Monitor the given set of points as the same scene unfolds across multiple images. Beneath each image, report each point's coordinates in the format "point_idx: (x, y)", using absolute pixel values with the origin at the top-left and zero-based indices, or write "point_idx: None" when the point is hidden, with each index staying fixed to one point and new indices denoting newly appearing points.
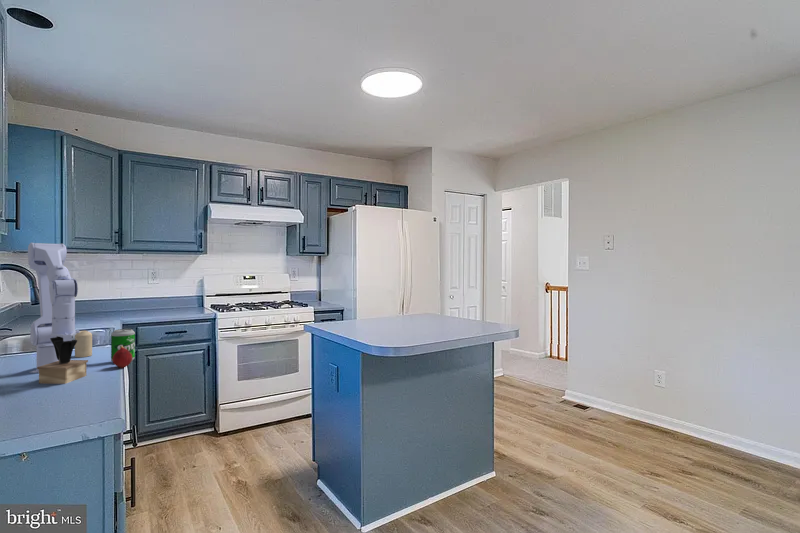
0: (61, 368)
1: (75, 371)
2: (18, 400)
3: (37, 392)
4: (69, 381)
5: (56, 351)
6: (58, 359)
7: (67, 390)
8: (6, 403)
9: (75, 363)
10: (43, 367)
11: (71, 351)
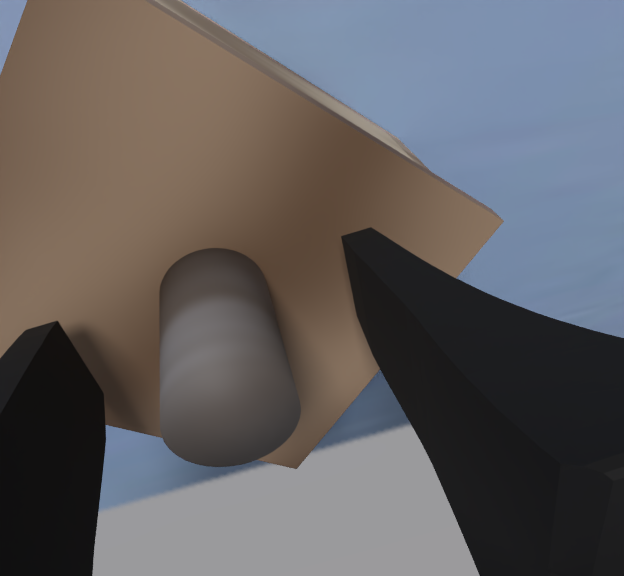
0: (460, 258)
1: None
2: (606, 333)
3: (486, 288)
4: (363, 119)
5: (92, 526)
6: (100, 394)
7: (588, 95)
8: None
9: (298, 141)
10: (335, 421)
11: (494, 305)
